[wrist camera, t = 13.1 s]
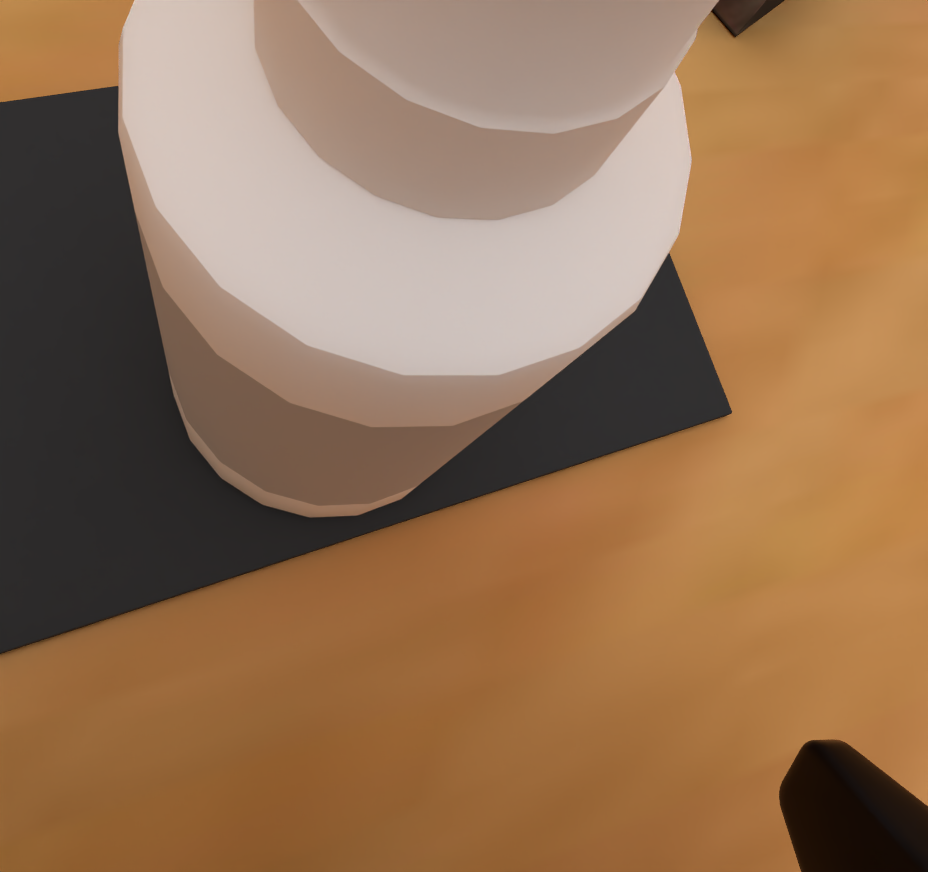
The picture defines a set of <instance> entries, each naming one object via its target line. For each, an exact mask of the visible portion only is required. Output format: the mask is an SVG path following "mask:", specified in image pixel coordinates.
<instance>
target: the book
mask: <svg viewBox="0 0 928 872" xmlns="http://www.w3.org/2000/svg"><path fill="white" fill-rule="evenodd" d="M783 1H784V0H719V1H718V2H717V4H716V5H715V6H714V8H713V9H712V10H713V12H714V13H715V14H716V15H717V16H718V17H719V19H720V20H721V21H722V22H723V23H724V24H725V26H726V27H727V28H728V29H729V30H730V31H731V33H732V34H733V35H734V36H735V37H736V36H737V35H739V34H740V33H741V32H743V31H744V30H745V29H747V28H748V27H749V26H751V25H752V24H753V23H755V22H756V21H757V20H759V19H760V18H761V17H763V16H764V15H765V14H767V13H768V12H769V11H771V10H772V9H773V8H775V7H776V6H777V5H779V4H780V3H781V2H783Z"/></svg>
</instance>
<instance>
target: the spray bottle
mask: <svg viewBox="0 0 928 872" xmlns="http://www.w3.org/2000/svg"><path fill="white" fill-rule="evenodd" d="M718 1H719V0H135V1H134V3H133V5H132V8H131V10H130V12H129V15H128V17H127V20H126V22H125V24H124V27H123V30H122V34H121V38H120V41H119V98H118V134H119V138H120V143H121V148H122V153H123V157H124V162H125V167H126V172H127V176H128V181H129V186H130V191H131V195H132V200H133V205H134V210H135V214H136V219H137V224H138V229H139V233H140V238H141V243H142V248H143V252H144V257H145V262H146V267H147V271H148V276H149V281H150V286H151V290H152V295H153V300H154V305H155V309H156V314H157V319H158V324H159V328H160V333H161V338H162V343H163V347H164V352H165V357H166V362H167V366H168V371H169V376H170V381H171V385H172V390H173V395H174V397H175V400H176V403H177V406H178V408H179V411H180V414H181V417H182V419H183V422H184V425H185V428H186V430H187V433H188V436H189V439H190V440H191V442H192V443H193V444H194V445H195V447H196V448H197V449H198V450H199V452H200V453H201V454H202V455H203V457H204V458H205V459H206V460H207V462H208V463H209V464H210V465H211V467H212V468H213V469H214V470H215V471H216V473H217V474H218V475H219V476H220V478H222V479H223V480H225V481H226V482H228V483H229V484H231V485H233V486H234V487H236V488H237V489H239V490H240V491H242V492H243V493H245V494H246V495H248V496H249V497H251V498H253V499H254V500H256V501H257V502H259V503H260V504H262V505H265V506H269V507H272V508H276V509H280V510H284V511H287V512H291V513H295V514H298V515H302V516H306V517H309V518H311V517H334V516H357V515H360V514H363V513H365V512H368V511H371V510H373V509H376V508H379V507H381V506H384V505H387V504H389V503H392V502H395V501H397V500H400V499H402V498H403V497H404V496H406V495H407V494H408V493H409V492H411V491H412V490H413V489H414V488H416V487H417V486H418V485H419V484H421V483H422V482H423V481H424V480H426V479H427V478H428V477H429V476H431V475H432V474H433V473H434V472H436V471H437V470H438V469H439V468H441V467H442V466H443V465H444V464H446V463H447V462H448V461H449V460H451V459H452V458H453V457H454V456H455V455H457V454H458V453H459V452H460V451H462V450H463V449H464V448H465V447H467V446H468V445H469V444H470V443H472V442H473V441H474V440H475V439H477V438H478V437H479V436H480V435H482V434H483V433H484V432H485V431H487V430H488V429H489V428H490V427H492V426H493V425H494V424H495V423H497V422H498V421H499V420H500V419H502V418H503V417H504V416H505V415H507V414H508V413H509V412H510V411H512V410H513V409H514V408H515V407H517V406H518V405H519V404H520V403H522V402H523V401H524V400H525V399H527V398H528V397H529V396H530V395H532V394H533V393H534V392H535V391H537V390H538V389H539V388H540V387H541V386H543V385H544V384H545V383H546V382H548V381H549V380H550V379H551V378H553V377H554V376H555V375H556V374H558V373H559V372H560V371H561V370H563V369H564V368H565V367H566V366H568V365H569V364H570V363H571V362H573V361H574V360H575V359H576V358H578V357H579V356H580V355H581V354H583V353H584V352H585V351H586V350H587V349H589V348H590V347H591V346H592V345H594V344H595V343H596V342H597V341H599V340H600V339H601V338H602V337H603V336H605V335H606V334H607V333H608V332H610V331H611V330H612V329H613V328H615V327H616V326H617V325H618V324H620V323H621V322H622V321H623V320H624V319H626V318H627V317H628V316H629V315H631V314H632V313H633V312H634V311H635V310H636V308H637V307H638V305H639V303H640V301H641V300H642V298H643V296H644V295H645V293H646V291H647V289H648V288H649V286H650V284H651V283H652V281H653V279H654V277H655V276H656V274H657V272H658V270H659V269H660V267H661V265H662V264H663V262H664V260H665V258H666V257H667V255H668V253H669V252H670V250H671V248H672V246H673V244H674V242H675V240H676V238H677V236H678V234H679V230H680V225H681V219H682V213H683V208H684V202H685V196H686V191H687V185H688V179H689V173H690V168H691V162H692V158H691V152H690V145H689V138H688V131H687V124H686V118H685V111H684V104H683V97H682V91H681V85H680V83H679V81H678V78H677V76H676V74H675V70H676V69H677V67H678V65H679V64H680V62H681V61H682V59H683V58H684V56H685V54H686V53H687V51H688V50H689V48H690V47H691V45H692V44H693V42H694V40H695V39H696V34H697V29H698V27H699V26H700V25H701V23H702V22H703V21H704V19H705V18H706V17H707V15H708V14H709V13H710V12H711V10H712V9H713V8H714V6H715V5H716V4H717V2H718Z"/></svg>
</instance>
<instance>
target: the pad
mask: <svg viewBox="0 0 928 872" xmlns="http://www.w3.org/2000/svg"><path fill="white" fill-rule="evenodd" d="M118 98H119V86H114V87H107V88H100V89H93V90H86V91H79V92H72V93H64V94H57V95H50V96H43V97H36V98H29V99H22V100H14V101H7V102H0V654H2V653H5V652H8V651H11V650H14V649H17V648H20V647H23V646H26V645H29V644H32V643H35V642H38V641H41V640H44V639H47V638H50V637H54V636H57V635H60V634H63V633H66V632H69V631H72V630H75V629H78V628H81V627H84V626H87V625H90V624H93V623H96V622H99V621H102V620H105V619H108V618H111V617H114V616H117V615H121V614H124V613H127V612H130V611H133V610H136V609H139V608H142V607H145V606H148V605H151V604H154V603H157V602H160V601H163V600H166V599H169V598H172V597H175V596H178V595H181V594H184V593H188V592H191V591H194V590H197V589H200V588H203V587H206V586H209V585H212V584H215V583H218V582H221V581H224V580H227V579H230V578H233V577H236V576H239V575H242V574H245V573H248V572H251V571H255V570H258V569H261V568H264V567H267V566H270V565H273V564H276V563H279V562H282V561H285V560H288V559H291V558H294V557H297V556H300V555H303V554H306V553H309V552H312V551H315V550H318V549H322V548H325V547H328V546H331V545H334V544H337V543H340V542H343V541H346V540H349V539H352V538H355V537H358V536H361V535H364V534H367V533H370V532H373V531H376V530H379V529H382V528H385V527H389V526H392V525H395V524H398V523H401V522H404V521H407V520H410V519H413V518H416V517H419V516H422V515H425V514H428V513H431V512H434V511H437V510H440V509H443V508H446V507H449V506H452V505H456V504H459V503H462V502H465V501H468V500H471V499H474V498H477V497H480V496H483V495H486V494H489V493H492V492H495V491H498V490H501V489H504V488H507V487H510V486H513V485H516V484H519V483H523V482H526V481H529V480H532V479H535V478H538V477H541V476H544V475H547V474H550V473H553V472H556V471H559V470H562V469H565V468H568V467H571V466H574V465H577V464H580V463H583V462H586V461H590V460H593V459H596V458H599V457H602V456H605V455H608V454H611V453H614V452H617V451H620V450H623V449H626V448H629V447H632V446H635V445H638V444H641V443H644V442H647V441H650V440H653V439H657V438H660V437H663V436H666V435H669V434H672V433H675V432H678V431H681V430H684V429H687V428H690V427H693V426H696V425H699V424H702V423H705V422H708V421H711V420H714V419H717V418H720V417H724V416H727V415H729V414H731V413H732V411H731V408H730V406H729V403H728V400H727V398H726V395H725V393H724V390H723V388H722V385H721V383H720V380H719V378H718V375H717V373H716V370H715V368H714V365H713V363H712V360H711V357H710V355H709V352H708V350H707V347H706V345H705V342H704V340H703V337H702V335H701V332H700V330H699V327H698V325H697V322H696V320H695V317H694V314H693V312H692V309H691V307H690V304H689V302H688V299H687V297H686V294H685V292H684V289H683V287H682V284H681V282H680V279H679V277H678V274H677V271H676V269H675V266H674V264H673V261H672V259H671V256H670V254H669V253H668V255H667V257H666V258H665V260H664V262H663V264H662V265H661V267H660V269H659V270H658V272H657V274H656V276H655V277H654V279H653V281H652V283H651V284H650V286H649V288H648V289H647V291H646V293H645V295H644V296H643V298H642V300H641V301H640V303H639V305H638V307H637V308H636V310H635V311H634V312H633V313H632V314H631V315H629V316H628V317H627V318H626V319H624V320H623V321H622V322H621V323H620V324H618V325H617V326H616V327H615V328H613V329H612V330H611V331H610V332H608V333H607V334H606V335H605V336H603V337H602V338H601V339H600V340H599V341H597V342H596V343H595V344H594V345H592V346H591V347H590V348H589V349H587V350H586V351H585V352H584V353H583V354H581V355H580V356H579V357H578V358H576V359H575V360H574V361H573V362H571V363H570V364H569V365H568V366H566V367H565V368H564V369H563V370H561V371H560V372H559V373H558V374H556V375H555V376H554V377H553V378H551V379H550V380H549V381H548V382H546V383H545V384H544V385H543V386H541V387H540V388H539V389H538V390H537V391H535V392H534V393H533V394H532V395H530V396H529V397H528V398H527V399H525V400H524V401H523V402H522V403H520V404H519V405H518V406H517V407H515V408H514V409H513V410H512V411H510V412H509V413H508V414H507V415H505V416H504V417H503V418H502V419H500V420H499V421H498V422H497V423H495V424H494V425H493V426H492V427H490V428H489V429H488V430H487V431H485V432H484V433H483V434H482V435H480V436H479V437H478V438H477V439H475V440H474V441H473V442H472V443H470V444H469V445H468V446H467V447H465V448H464V449H463V450H462V451H460V452H459V453H458V454H457V455H455V456H454V457H453V458H452V459H451V460H449V461H448V462H447V463H446V464H444V465H443V466H442V467H441V468H439V469H438V470H437V471H436V472H434V473H433V474H432V475H431V476H429V477H428V478H427V479H426V480H424V481H423V482H422V483H421V484H419V485H418V486H417V487H416V488H414V489H413V490H412V491H411V492H409V493H408V494H407V495H406V496H404V497H403V498H402V499H400V500H397V501H395V502H392V503H389V504H387V505H384V506H381V507H379V508H376V509H373V510H371V511H368V512H365V513H363V514H360V515H357V516H334V517H311V518H309V517H306V516H302V515H298V514H295V513H291V512H287V511H284V510H280V509H276V508H272V507H269V506H265V505H262V504H260V503H259V502H257V501H256V500H254V499H253V498H251V497H249V496H248V495H246V494H245V493H243V492H242V491H240V490H239V489H237V488H236V487H234V486H233V485H231V484H229V483H228V482H226V481H225V480H223V479H222V478H220V476H219V475H218V474H217V473H216V471H215V470H214V469H213V468H212V467H211V465H210V464H209V463H208V462H207V460H206V459H205V458H204V457H203V455H202V454H201V453H200V452H199V450H198V449H197V448H196V447H195V445H194V444H193V443H192V442H191V440H190V439H189V436H188V433H187V430H186V428H185V425H184V422H183V419H182V417H181V414H180V411H179V408H178V406H177V403H176V400H175V397H174V395H173V390H172V385H171V381H170V376H169V371H168V366H167V362H166V357H165V352H164V347H163V343H162V338H161V333H160V328H159V324H158V319H157V314H156V309H155V305H154V300H153V295H152V290H151V286H150V281H149V276H148V271H147V267H146V262H145V257H144V252H143V248H142V243H141V238H140V233H139V229H138V224H137V219H136V214H135V210H134V205H133V200H132V195H131V191H130V186H129V181H128V176H127V172H126V167H125V162H124V157H123V153H122V148H121V143H120V138H119V134H118Z"/></svg>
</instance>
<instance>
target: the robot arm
mask: <svg viewBox="0 0 928 872" xmlns="http://www.w3.org/2000/svg"><path fill="white" fill-rule="evenodd" d="M779 800H780V806H781V810H782V813H783V816H784V819H785V823H786V826H787V829H788V832H789V835H790V838H791V841H792V844H793V848H794V851H795V854H796V857H797V860H798V863H799V866H800V869H801V872H928V806H927V805H925V804H924V803H923V802H922V801H920V800H919V799H918V798H916V797H915V796H914V795H913V794H911V793H910V792H909V791H907V790H906V789H905V788H904V787H902V786H901V785H900V784H899V783H897V782H896V781H895V780H893V779H892V778H891V777H890V776H888V775H887V774H886V773H884V772H883V771H882V770H881V769H879V768H878V767H877V766H875V765H874V764H873V763H872V762H870V761H869V760H868V759H867V758H865V757H864V756H863V755H861V754H860V753H859V752H858V751H856V750H855V749H854V748H852V747H851V746H850V745H848V744H847V743H845V742H843V741H840V740H811V741H809V742H807V743H805V744H804V745H803V746H802V748H801V749H800V751H799V753H798V755H797V756H796V758H795V760H794V762H793V764H792V765H791V767H790V769H789V771H788V772H787V774H786V776H785V778H784V779H783V781H782V783H781V786H780V791H779Z"/></svg>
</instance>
